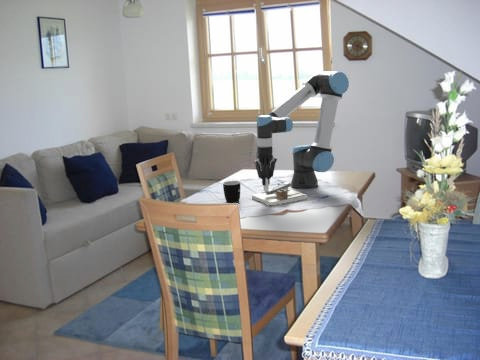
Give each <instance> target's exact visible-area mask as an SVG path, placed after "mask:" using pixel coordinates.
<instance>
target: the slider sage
mask: <svg viewBox="0 0 480 360" xmlns="http://www.w3.org/2000/svg"><path fill="white" fill-rule="evenodd" d="M285 182H286V181H284V180H283V181H282V180H281V181H279V182H277V186H279V185H281V184H283V183H285ZM288 189H289V187H287V188H285V189H284V190H288Z"/></svg>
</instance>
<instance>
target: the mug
mask: <svg viewBox="0 0 480 360" xmlns="http://www.w3.org/2000/svg"><path fill="white" fill-rule="evenodd" d="M222 185H223V187H222V188H223V189H222V190H223V195H224V199H225V201H226V203H228V204H234V203H233V202H236V203H239V202H240V198H241V181H238V180H228V181H224V182H223V183H222Z"/></svg>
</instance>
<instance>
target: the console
mask: <svg viewBox="0 0 480 360" xmlns="http://www.w3.org/2000/svg"><path fill="white" fill-rule="evenodd" d="M286 191H287V194H288V198H286V199H281V200H280V199H278V198H277V192H275V193H272V194H270V195H269V194H266V193H265V191H261V192H260V193H254V194H252V195H251V199H252V200H254V201H256V202H259V201H260V203H262V202H263V203H262V204H264V203H265V204H264V205H266V204H268V205H267V206H269V205H275V206H277V205H276V204H279V205H282V203H284V204H288V203H287V202H289V203H293V201H294V202H297V201H298V200H299V201H303V200H307V199H308V194H305V193H302V192H299V191H296V190H294V189H290V188H288V190H286ZM299 201H298V202H299Z"/></svg>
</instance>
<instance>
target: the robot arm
mask: <svg viewBox="0 0 480 360" xmlns="http://www.w3.org/2000/svg"><path fill="white" fill-rule="evenodd" d="M349 84H350V81H349V78H348V76H347V75H346V74H345V72H342V71H337V70H332V71H331V70H329V71H327V70H322V71H318V72H316V73H314V74H313V75H312V76H310V77H309V78H307V79H306V80H305V81H304V82H303V83H302V85H301V87H299V88H298V89H297V90H296V91H294V92H293V93H292V94H291V95H289V97H287V98H286V99H285V100H284V101H283V102H281V103H280V104H279V105H277V106H276V107H275V108H273V109H272V110H271V111H270V112H269V113H267V114H266V115H265V114H264V115H263V114H261V115H258V116H257V118H256V131H257V134H256V135H257V137H256V138H257V159H254V160H253V164H254V165H255V169H256V172H257V173H256V174H257V176H258V179H261V184H262V186H263V192H268V191H269V189H270V187H269V186H270V184H271V183H270V182H271V178H273V177H274V172H275V167H276V163H277V161H278V158H276V157H274V156H273V134H280V133H288V132H291V131H292V130H293V127H294V124H293V123H294V122H293V120H292V119H291V117H288V116H289V115H291V114H292V113H293V112H294V111H296V110H297V109H298V108H299V107H301V106H302V105H303V104H304V103H305V102H306V101H308V100H309V99H310V98H315V97H316V96H317V95H319V94H320V97H321V104H320V108H319V114H318V118H317V119H318V120H317V125H316V130H315V135H314V140H313V143H311V144H304V145H297V146H294V147H293V148H292V162H293V163H292V164H293V174H292V178H291V180H290V183H291V186H290V187H291V188H293V189H301V190H302V189H314V188H317V187H318V185H319V184H318V183H319V181H318V178H317V176H316V173H315V172H317V173H326V172H328V171H329V170H330V169H332V167H333V165H334V162H335V158H334V157H335V156H334V155H333V153H332V152H333V151H332V150H333V148H332V147H331V140H332V135H333V130H334V126H335V120H336V119H335V118H336V114H337V110H338V109H337V108H338V105H339V101H340V100H342V98H343V94H345V93H346V92H347V91H348V90H349Z"/></svg>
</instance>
